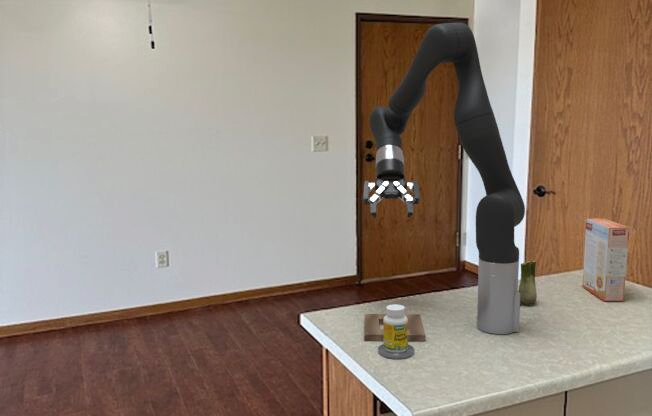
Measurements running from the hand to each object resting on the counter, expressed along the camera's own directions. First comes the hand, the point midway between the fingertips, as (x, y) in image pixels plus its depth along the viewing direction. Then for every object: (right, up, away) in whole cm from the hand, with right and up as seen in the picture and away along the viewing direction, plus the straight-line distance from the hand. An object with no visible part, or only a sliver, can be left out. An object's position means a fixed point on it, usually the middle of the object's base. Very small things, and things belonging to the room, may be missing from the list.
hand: (391, 216), depth 144 cm
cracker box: (+62, -23, +20) cm, 69 cm away
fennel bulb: (+38, -24, +13) cm, 47 cm away
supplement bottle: (-1, -29, -17) cm, 34 cm away
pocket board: (0, -28, -4) cm, 28 cm away
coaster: (-1, -30, -17) cm, 34 cm away
